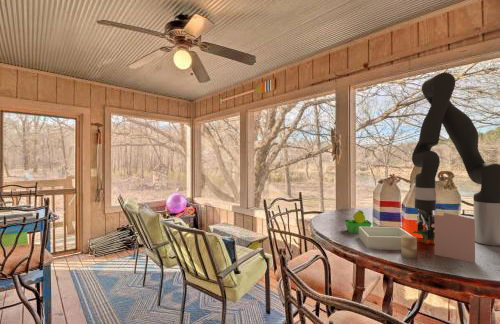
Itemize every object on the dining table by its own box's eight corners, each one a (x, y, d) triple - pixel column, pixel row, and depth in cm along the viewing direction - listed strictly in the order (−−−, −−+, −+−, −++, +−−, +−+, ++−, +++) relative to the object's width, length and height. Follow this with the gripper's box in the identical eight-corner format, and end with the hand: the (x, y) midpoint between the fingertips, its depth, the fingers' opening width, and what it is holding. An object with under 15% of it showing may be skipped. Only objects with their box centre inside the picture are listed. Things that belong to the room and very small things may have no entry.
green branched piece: (443, 244, 109) (443, 224, 109) (414, 244, 110) (413, 225, 109) (438, 241, 112) (437, 222, 112) (409, 242, 113) (409, 223, 112)
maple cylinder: (413, 253, 99) (413, 235, 99) (419, 258, 94) (419, 239, 94) (399, 253, 100) (398, 235, 100) (404, 258, 95) (404, 239, 95)
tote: (400, 238, 118) (399, 227, 118) (415, 250, 103) (415, 237, 103) (358, 237, 121) (358, 226, 121) (368, 248, 106) (367, 236, 106)
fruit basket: (367, 229, 134) (366, 207, 134) (373, 234, 125) (373, 210, 125) (344, 229, 135) (343, 207, 135) (348, 234, 126) (348, 211, 126)
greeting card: (477, 262, 90) (476, 218, 90) (459, 264, 89) (459, 220, 89) (446, 250, 101) (445, 212, 101) (430, 252, 100) (429, 213, 100)
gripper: (444, 201, 103) (444, 242, 103) (426, 195, 117) (426, 231, 117) (423, 200, 104) (423, 241, 105) (408, 195, 118) (408, 231, 119)
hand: (425, 236), depth 111 cm, fingers open, 8 cm apart
